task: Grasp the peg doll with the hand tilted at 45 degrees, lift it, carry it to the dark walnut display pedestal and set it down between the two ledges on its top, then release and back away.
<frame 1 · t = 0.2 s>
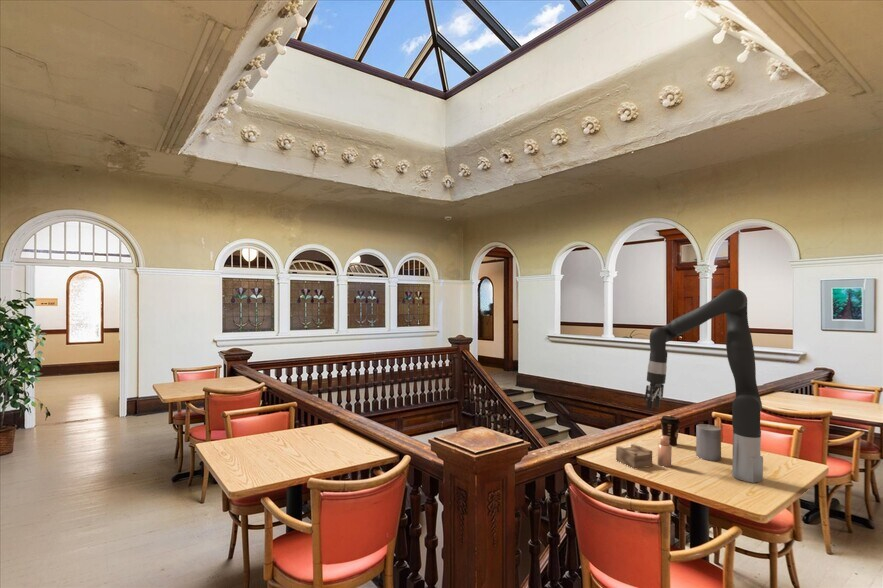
hand: (652, 408, 204), 22 cm above the table, tool pointing down, fingers open, 8 cm apart
pillar candle: (708, 458, 205), on the table
coffee cup: (669, 444, 224), on the table
peg doll: (664, 465, 195), on the table
pedestal: (633, 463, 196), on the table
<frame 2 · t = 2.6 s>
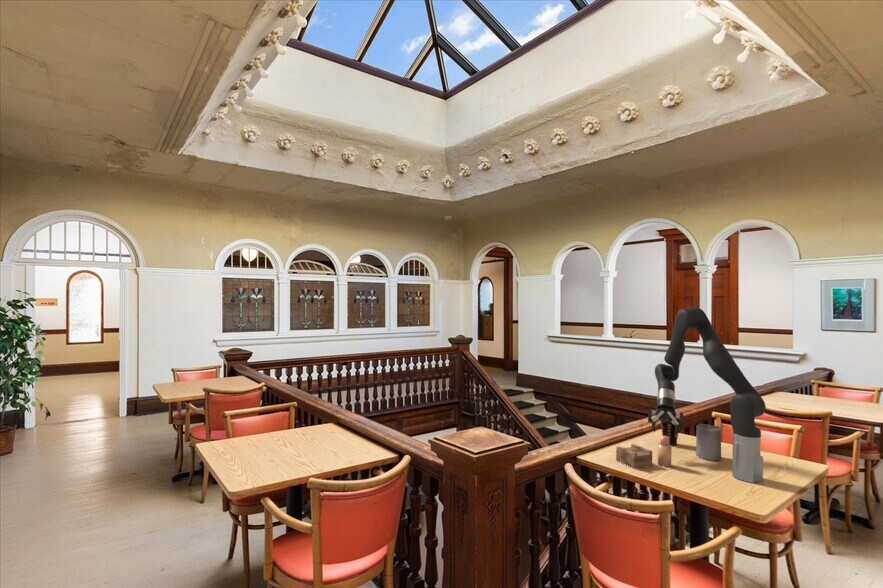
hand: (665, 432, 201), 12 cm above the table, tool tilted 45°, fingers open, 8 cm apart
nothing on the table moved.
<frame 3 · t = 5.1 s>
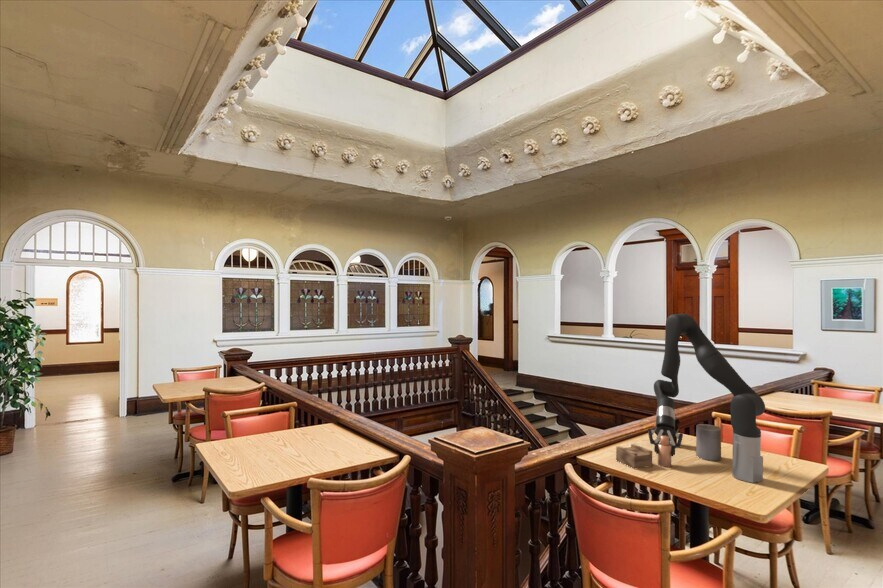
hand: (664, 453, 193), 5 cm above the table, tool tilted 45°, fingers closed on peg doll, 5 cm apart
peg doll: (664, 465, 194), on the table, touching gripper
everything else where it was.
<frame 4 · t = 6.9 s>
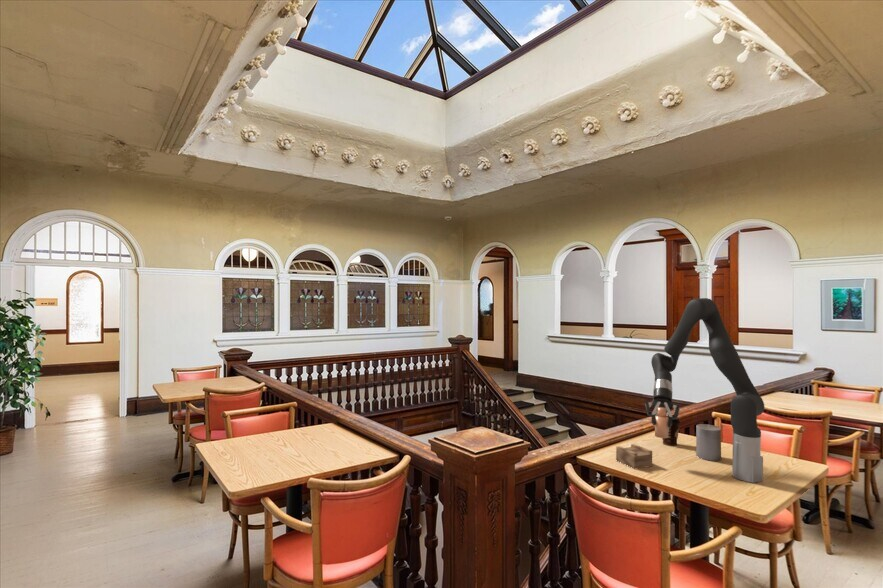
hand: (661, 425, 193), 17 cm above the table, tool tilted 45°, fingers closed on peg doll, 5 cm apart
peg doll: (661, 436, 195), point 12 cm above the table, touching gripper
everything else where it was.
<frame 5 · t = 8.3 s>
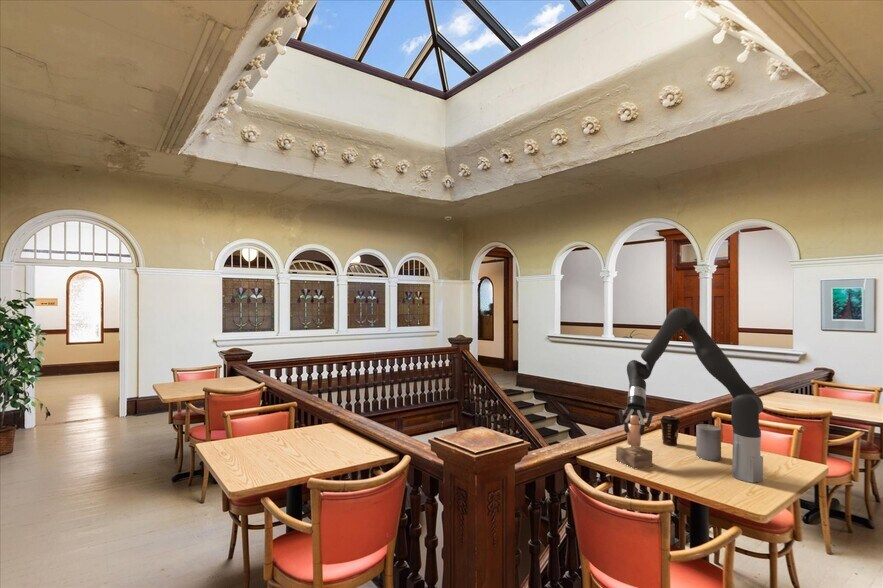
hand: (634, 433, 194), 13 cm above the table, tool tilted 45°, fingers closed on peg doll, 5 cm apart
peg doll: (633, 444, 196), point 8 cm above the table, touching gripper
everything else where it was.
when the fingers open (12 cm above the table, at t = 9.0 s): peg doll drops 1 cm, resting on pedestal.
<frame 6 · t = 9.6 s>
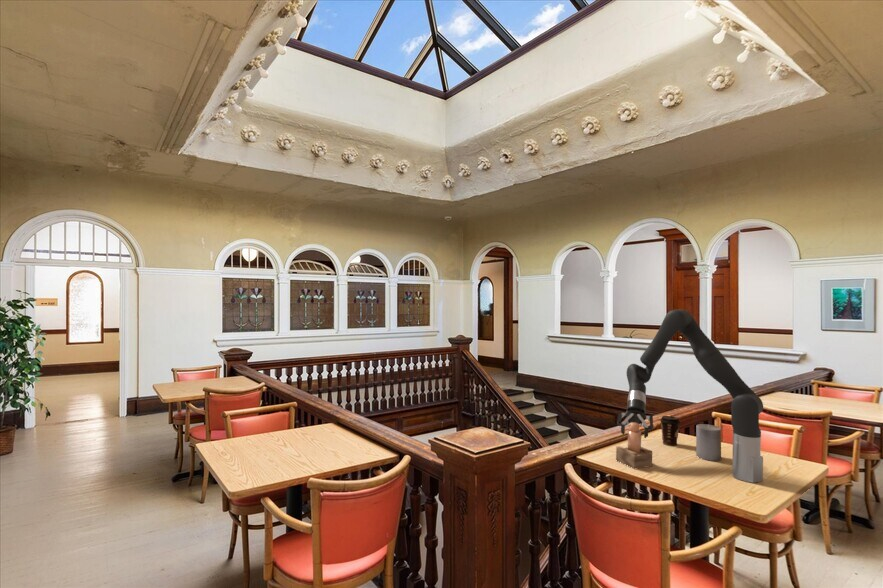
hand: (634, 435, 195), 12 cm above the table, tool tilted 45°, fingers open, 8 cm apart
peg doll: (634, 451, 196), point 5 cm above the table, touching pedestal
everything else where it was.
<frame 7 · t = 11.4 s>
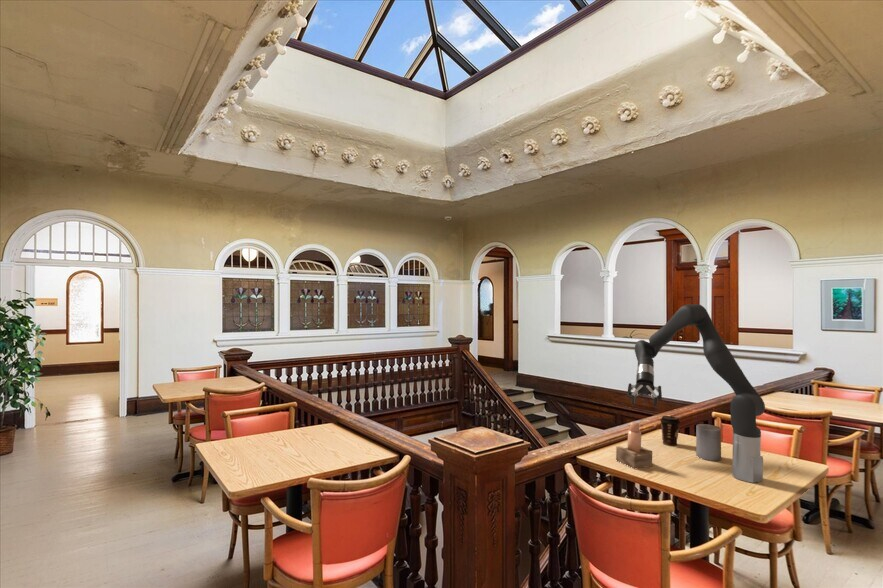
hand: (644, 405, 205), 23 cm above the table, tool tilted 45°, fingers open, 8 cm apart
nothing on the table moved.
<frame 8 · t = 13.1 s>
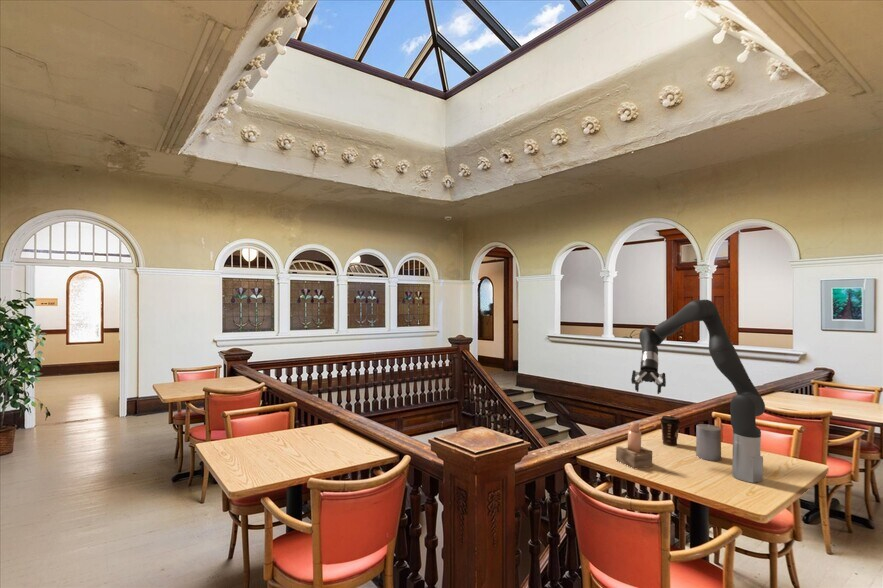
hand: (647, 391, 206), 29 cm above the table, tool tilted 45°, fingers open, 8 cm apart
nothing on the table moved.
at the end: peg doll inside the target area on the pedestal (0.1 cm from its centre), point 5.1 cm above the pedestal's base; peg doll tilted 1°; the gripper is holding nothing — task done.
